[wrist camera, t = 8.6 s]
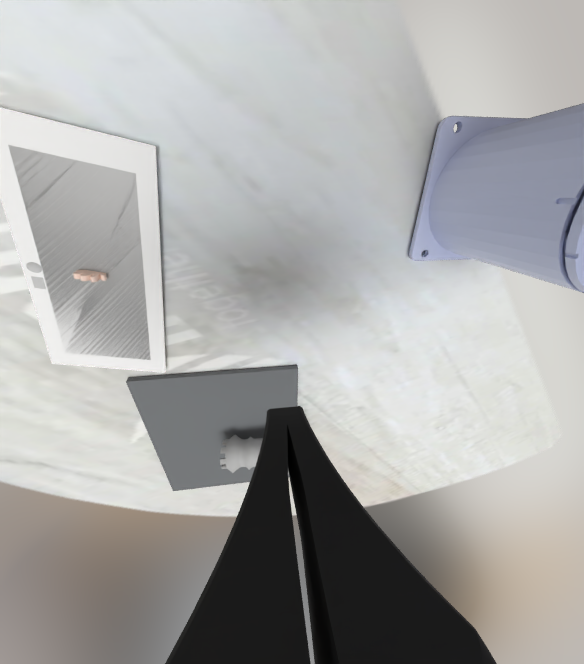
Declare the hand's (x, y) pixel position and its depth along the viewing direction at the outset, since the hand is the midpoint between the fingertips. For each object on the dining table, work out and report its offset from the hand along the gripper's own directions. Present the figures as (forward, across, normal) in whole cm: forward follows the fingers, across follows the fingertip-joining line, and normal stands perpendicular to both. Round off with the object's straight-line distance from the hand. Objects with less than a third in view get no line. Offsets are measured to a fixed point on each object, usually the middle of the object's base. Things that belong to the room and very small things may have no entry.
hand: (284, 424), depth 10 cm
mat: (+10, +5, +13) cm, 17 cm away
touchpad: (+11, +11, -4) cm, 16 cm away
